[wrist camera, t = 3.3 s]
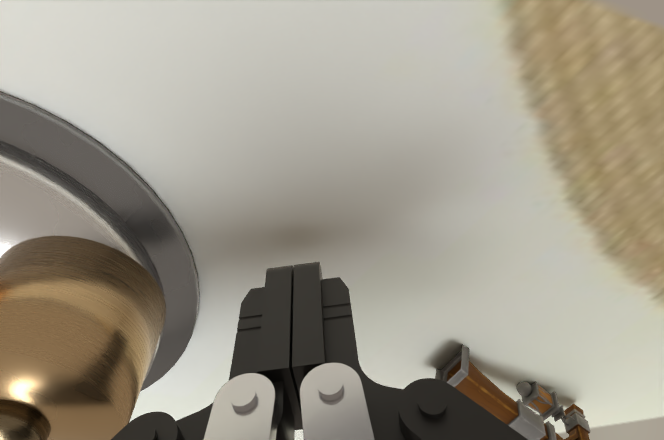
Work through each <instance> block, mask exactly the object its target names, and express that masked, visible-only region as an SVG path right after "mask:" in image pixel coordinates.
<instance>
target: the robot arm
mask: <svg viewBox="0 0 664 440" xmlns="http://www.w3.org/2000/svg"><path fill="white" fill-rule="evenodd" d="M237 331H238V332H237V334H236V340H235V347H234V353H233V359H232V365H231V371H230V377H229V381H228V382H227V383H225V384H224V385H223V386H222V387H221V389H220V390H219V391H218V393H217V395H216V397H215V399H214V402H213V403H212V404H211V405H209V406H208V407H206V408H204V409H202V410H200V411H198V412H196V413H194V414H191V415H189V416H187V417H184V418H182V419H180V420H177V421H175V420H174V418H173V417H172V416H170V415H169V414H167V413H164V412H150V413H146V414H144V415H141V416H139V417H137V418H135V419H134V420H132V421H131V422H129V423H128V424H127V425H126V426H125V427H124V428H123V429H121V430H120V431H119V432H118V433H117V434H116V435H115V436H114V437H113V438H112V439H111V440H294V430H299V429H303V435H304V440H528V439H527V438H525V437H524V436H522V435H521V434H520V433H518V432H517V431H515V430H514V429H512V428H511V427H510V426H508V425H507V424H505V423H504V422H503V421H501V420H500V419H498V418H497V417H496V416H494V415H493V414H491V413H490V412H488V411H487V410H486V409H484V408H483V407H481V406H480V405H479V404H477V403H476V402H474V401H473V400H471V399H470V398H469V397H467V396H466V395H464V394H463V393H462V392H460V391H459V390H457V389H456V388H455V387H453V386H452V385H450V384H448V383H446V382H444V381H442V380H438V379H431V378H427V379H420V380H417V381H414V382H412V383H410V384H409V385H408V386H407V387H406V388H405V389H404V390H403V389H397V388H391V387H386V386H382V385H380V384H377V383H375V382H374V381H372V380H371V379H369V378H368V377H367V376H366V375H365V374H364V373H363V371H362V370H361V367H360V365H359V361H358V354H357V347H356V340H355V333H354V325H353V318H352V311H351V304H350V296H349V289H348V288H347V286H346V285H345V284H344V282H343V281H342V280H341V279H340V277H338V278H331V279H322V273H321V267H320V263H319V262H315V263H307V264H300V265H294V267H293V266H285V267H278V268H270V269H267V273H266V283H265V287H262V288H255V289H251V290H250V291H249V293H248V294H247V295H246V297H245V298H244V300H243V301H242V303H241V309H240V315H239V322H238V328H237Z"/></svg>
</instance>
